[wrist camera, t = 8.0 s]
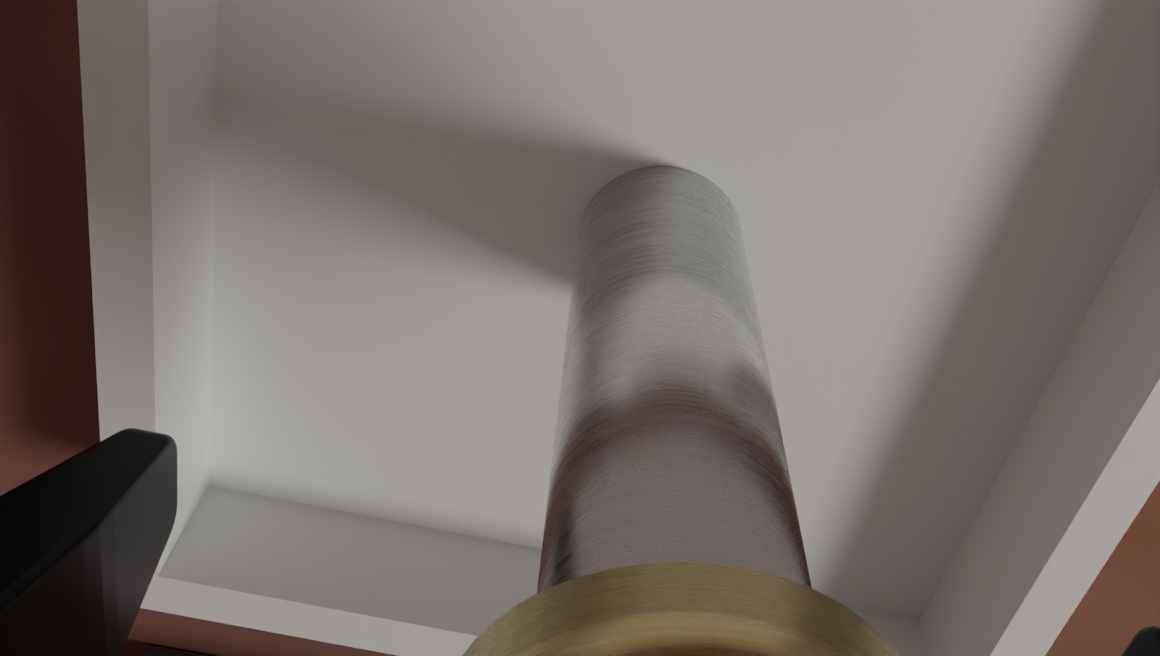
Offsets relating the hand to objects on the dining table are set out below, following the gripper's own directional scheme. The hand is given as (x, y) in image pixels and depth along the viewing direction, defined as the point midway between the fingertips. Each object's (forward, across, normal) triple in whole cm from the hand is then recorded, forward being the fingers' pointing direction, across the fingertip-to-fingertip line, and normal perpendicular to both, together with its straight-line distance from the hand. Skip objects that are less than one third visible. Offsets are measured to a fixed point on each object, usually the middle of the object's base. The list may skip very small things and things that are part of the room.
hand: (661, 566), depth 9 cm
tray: (+8, 0, 0) cm, 8 cm away
